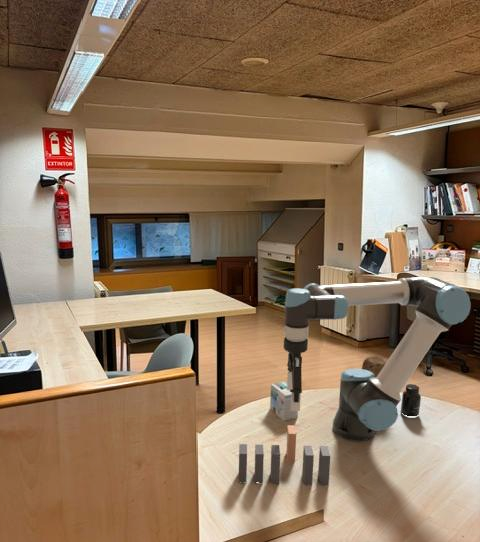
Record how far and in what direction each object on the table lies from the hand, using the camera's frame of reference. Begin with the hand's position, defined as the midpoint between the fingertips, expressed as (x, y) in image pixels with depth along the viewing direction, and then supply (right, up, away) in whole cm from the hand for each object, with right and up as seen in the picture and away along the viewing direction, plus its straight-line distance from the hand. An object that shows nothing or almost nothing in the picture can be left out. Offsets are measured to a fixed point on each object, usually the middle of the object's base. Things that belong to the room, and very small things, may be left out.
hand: (293, 399), depth 148 cm
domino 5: (+4, -23, -7) cm, 24 cm away
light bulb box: (0, -15, +32) cm, 35 cm away
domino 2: (-11, -22, -7) cm, 26 cm away
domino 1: (-16, -22, -7) cm, 28 cm away
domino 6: (+9, -23, -7) cm, 25 cm away
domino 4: (0, -20, +4) cm, 21 cm away
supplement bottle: (+50, -15, +33) cm, 62 cm away
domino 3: (-6, -22, -7) cm, 24 cm away
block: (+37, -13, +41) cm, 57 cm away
